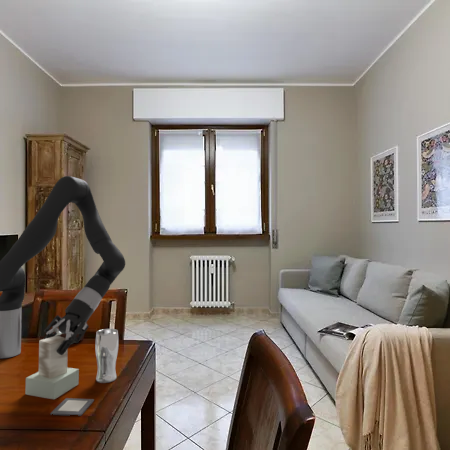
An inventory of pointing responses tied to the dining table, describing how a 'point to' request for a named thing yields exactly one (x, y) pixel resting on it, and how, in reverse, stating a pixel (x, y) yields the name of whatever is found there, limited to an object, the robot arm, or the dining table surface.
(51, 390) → the sage base block
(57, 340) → the ivory block
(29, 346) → the dining table surface
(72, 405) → the tile
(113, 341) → the beer glass
